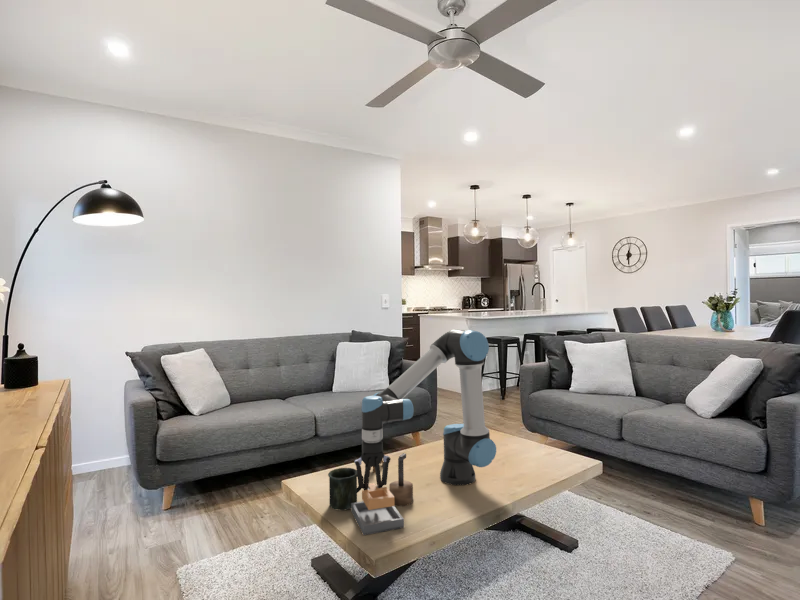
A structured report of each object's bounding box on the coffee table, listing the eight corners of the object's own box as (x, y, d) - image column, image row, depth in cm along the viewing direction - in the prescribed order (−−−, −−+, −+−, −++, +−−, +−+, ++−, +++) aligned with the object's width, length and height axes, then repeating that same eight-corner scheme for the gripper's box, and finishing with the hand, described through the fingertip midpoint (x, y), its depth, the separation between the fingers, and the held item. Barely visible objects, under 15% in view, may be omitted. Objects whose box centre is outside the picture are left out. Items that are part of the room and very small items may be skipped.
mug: (322, 504, 166) (322, 472, 166) (354, 493, 175) (354, 463, 175) (338, 514, 157) (338, 480, 158) (371, 502, 167) (370, 470, 167)
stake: (395, 494, 174) (395, 449, 174) (416, 498, 170) (416, 452, 171) (385, 503, 166) (384, 456, 166) (406, 507, 162) (406, 460, 162)
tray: (387, 505, 164) (387, 497, 164) (403, 527, 147) (403, 518, 147) (351, 511, 160) (351, 503, 160) (363, 535, 143) (363, 525, 143)
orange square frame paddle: (358, 493, 159) (358, 485, 159) (382, 490, 162) (382, 481, 162) (368, 510, 145) (368, 500, 146) (394, 505, 148) (394, 497, 148)
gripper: (353, 445, 152) (353, 513, 152) (396, 440, 157) (396, 507, 157) (348, 439, 159) (348, 504, 159) (389, 435, 164) (390, 498, 164)
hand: (372, 505), depth 158 cm, fingers closed on orange square frame paddle, 3 cm apart
